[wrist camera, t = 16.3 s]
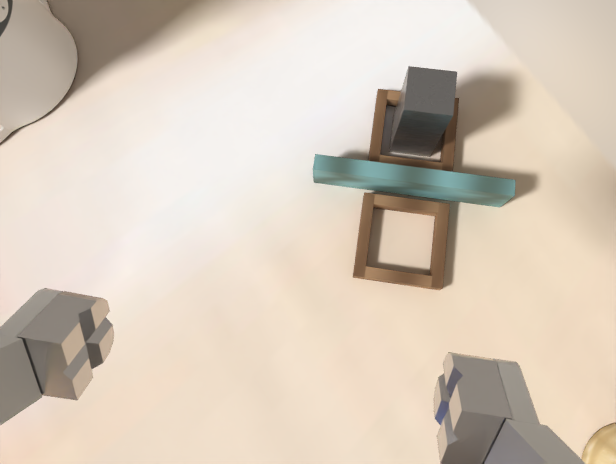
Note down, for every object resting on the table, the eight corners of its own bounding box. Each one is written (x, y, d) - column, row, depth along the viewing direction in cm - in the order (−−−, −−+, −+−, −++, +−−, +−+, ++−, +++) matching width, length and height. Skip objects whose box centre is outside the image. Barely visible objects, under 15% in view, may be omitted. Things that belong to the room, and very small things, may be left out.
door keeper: (299, 269, 43) (297, 263, 40) (328, 89, 47) (328, 70, 44) (494, 298, 42) (509, 294, 38) (505, 110, 46) (520, 91, 43)
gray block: (389, 151, 45) (403, 109, 37) (393, 115, 46) (408, 66, 38) (429, 156, 45) (453, 115, 37) (433, 120, 46) (457, 71, 38)
